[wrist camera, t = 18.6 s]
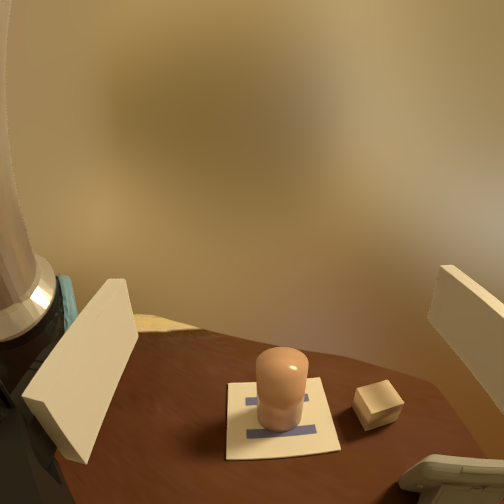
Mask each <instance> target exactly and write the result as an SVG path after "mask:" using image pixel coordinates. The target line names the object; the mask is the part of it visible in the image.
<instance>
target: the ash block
mask: <svg viewBox="0 0 504 504" xmlns="http://www.w3.org/2000/svg"><path fill="white" fill-rule="evenodd" d="M403 405H404V402H403V401H402V399H401V398H400V396H399V395H398V393H397V392H396V391H395V389H394V388H393V386H392V385H391V384H390V382H389V381H388V380H385V381H382V382H378V383H375V384H371V385H367V386H364V387H360V388H357V389H356V393H355V397H354V400H353V404H352V408H353V410H354V411H355V413H356V415H357V417H358V419H359V421H360V423H361V424H362V426H363V428H364V430H365V431H368V430H371V429H374V428H377V427H380V426H383V425H386V424H389V423H392V422H394V421H396V420H397V418H398V416H399V414H400V412H401V409H402V407H403Z"/></svg>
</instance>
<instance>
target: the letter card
mask: <svg viewBox="0 0 504 504" xmlns="http://www.w3.org/2000/svg"><path fill="white" fill-rule="evenodd" d="M340 450H341V448H340V444H339V441H338V437H337V434H336V430H335V427H334V423H333V420H332V417H331V413H330V410H329V406H328V403H327V400H326V396H325V393H324V390H323V386H322V383H321V380H320V377H319V378H309V379H307V381H306V389H305V396H304V404H303V411H302V418H301V421H300V423H299V424H298V426H297V427H295V428H294V429H292V430H290V431H287V432H280V433H278V432H272V431H269V430H267V429H265V428H263V427H262V426H261V425H260V424H259V422H258V419H257V387H256V382H249V383H228V412H227V449H226V460H256V459H274V458H287V457H297V456H306V455H314V454H321V453H328V452H334V451H340Z"/></svg>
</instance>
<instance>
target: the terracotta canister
mask: <svg viewBox="0 0 504 504" xmlns="http://www.w3.org/2000/svg"><path fill="white" fill-rule="evenodd" d="M307 372H308V360H307V358H306V356H305V355H304V354H303V353H301V352H300V351H298V350H296V349H293V348H288V347H276V348H271V349H268V350H266V351H264V352H263V353H261V354H260V355H259V356H258V358H257V360H256V387H257V419H258V422H259V424H260V425H261V426H262V427H263V428H265V429H267V430H269V431H272V432H278V433H280V432H287V431H290V430H292V429H294V428H295V427H297V426H298V424H299V423H300V421H301V418H302V411H303V404H304V396H305V389H306V381H307Z"/></svg>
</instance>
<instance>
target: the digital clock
mask: <svg viewBox="0 0 504 504" xmlns="http://www.w3.org/2000/svg"><path fill="white" fill-rule="evenodd" d="M398 483H399V486H400V488H401V489H402V490H406V491H412V492H419V493H420V497H419V500H418V504H500V502H501V501H502V499H503V498H504V460H490V459H475V458H464V457H455V456H445V455H436V454H433V455H429V456H427V457H426V458H424V459H423V460H422V461H420V462H419V463H417V464H416V465H414V466H413V467H411V468H410V469H408V470H407V471H406V472H404V473H403V474H402V475H401V476H400V477H399V480H398Z"/></svg>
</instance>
